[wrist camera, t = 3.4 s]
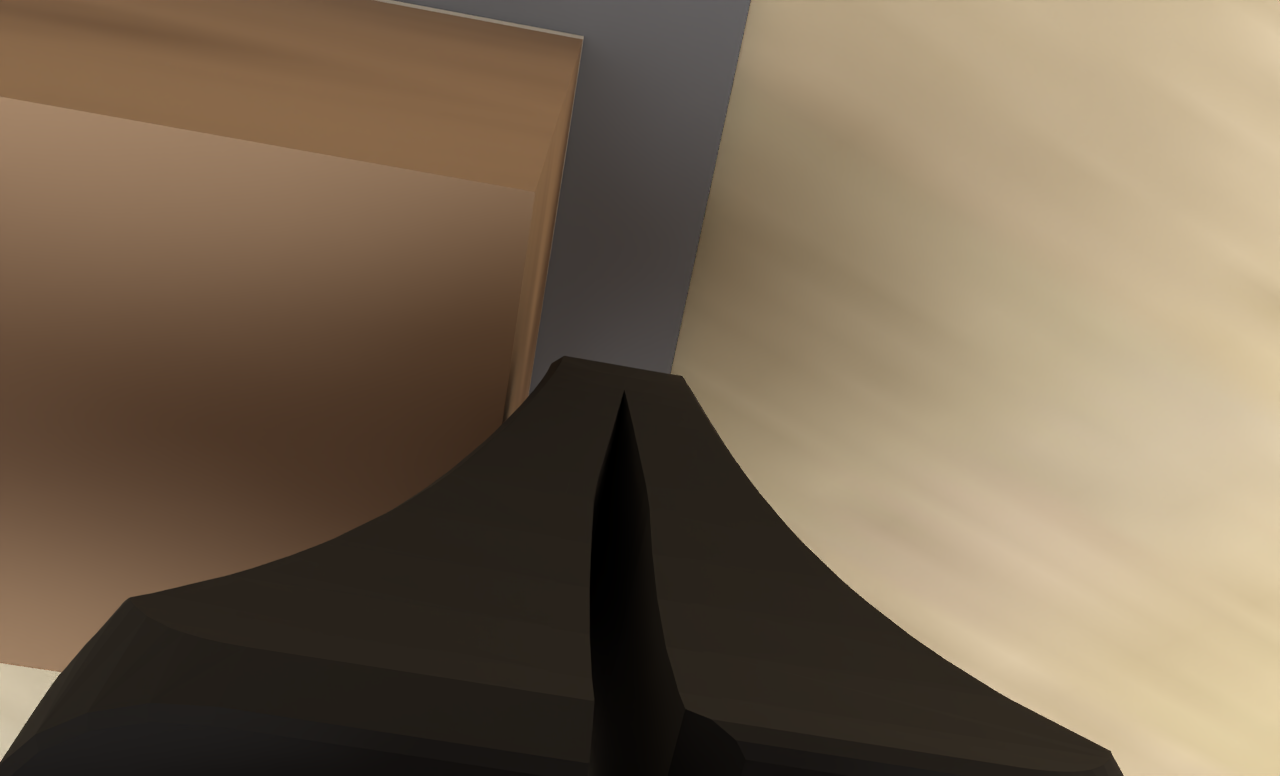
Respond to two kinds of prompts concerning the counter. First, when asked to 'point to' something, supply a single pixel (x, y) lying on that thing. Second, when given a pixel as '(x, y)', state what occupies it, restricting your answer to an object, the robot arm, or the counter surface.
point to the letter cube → (253, 280)
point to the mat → (630, 168)
